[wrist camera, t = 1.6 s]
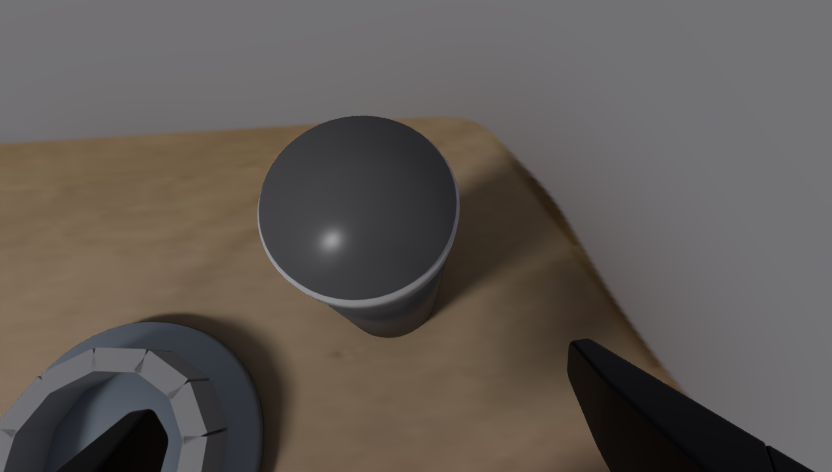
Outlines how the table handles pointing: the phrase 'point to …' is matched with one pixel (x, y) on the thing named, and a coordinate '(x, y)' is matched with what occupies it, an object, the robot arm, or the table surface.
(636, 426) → the robot arm
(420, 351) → the table surface
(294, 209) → the grey domed cylinder
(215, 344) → the ring
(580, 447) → the table surface
